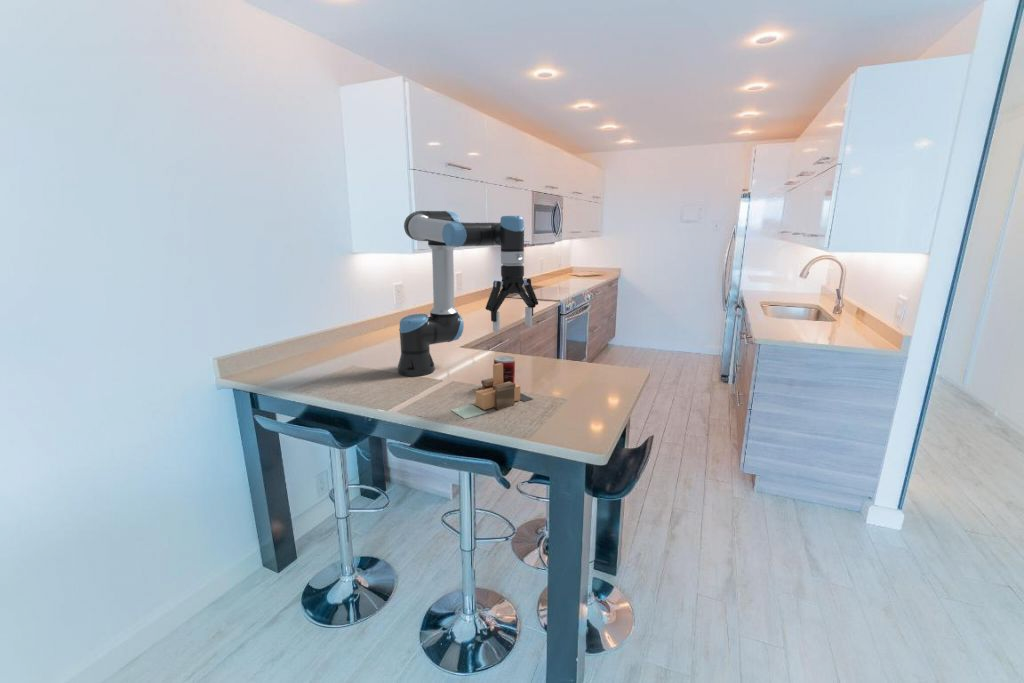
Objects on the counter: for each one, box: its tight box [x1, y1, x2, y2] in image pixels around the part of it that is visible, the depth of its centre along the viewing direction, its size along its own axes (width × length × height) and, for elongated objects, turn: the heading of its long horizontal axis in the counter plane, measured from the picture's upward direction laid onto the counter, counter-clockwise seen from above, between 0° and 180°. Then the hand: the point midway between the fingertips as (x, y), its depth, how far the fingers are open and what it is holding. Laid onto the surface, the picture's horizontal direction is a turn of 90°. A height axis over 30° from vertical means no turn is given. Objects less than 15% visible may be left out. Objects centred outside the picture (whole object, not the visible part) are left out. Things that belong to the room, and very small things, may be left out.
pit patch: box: [519, 392, 533, 403], centre depth 165 cm, size 8×4×1 cm, turn 37°
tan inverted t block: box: [475, 363, 521, 411], centre depth 157 cm, size 5×15×14 cm, turn 127°
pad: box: [450, 403, 487, 420], centre depth 152 cm, size 9×8×1 cm
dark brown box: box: [480, 377, 516, 410], centre depth 158 cm, size 10×7×8 cm
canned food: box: [493, 355, 516, 384], centre depth 175 cm, size 8×8×11 cm
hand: (512, 328), depth 157 cm, fingers open, 13 cm apart
